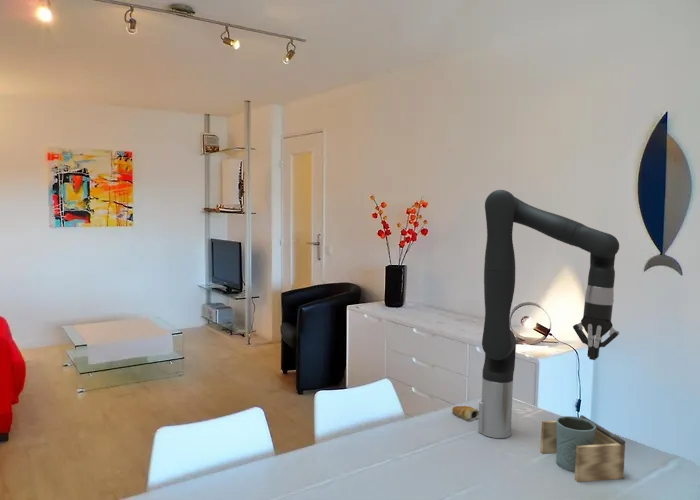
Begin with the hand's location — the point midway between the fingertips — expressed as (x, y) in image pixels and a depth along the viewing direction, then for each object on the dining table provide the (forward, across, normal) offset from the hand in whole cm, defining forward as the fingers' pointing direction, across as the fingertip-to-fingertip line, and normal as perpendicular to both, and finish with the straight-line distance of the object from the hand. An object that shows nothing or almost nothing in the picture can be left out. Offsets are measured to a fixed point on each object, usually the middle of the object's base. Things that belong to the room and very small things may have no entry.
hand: (592, 359), depth 167 cm
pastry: (+28, -37, -1) cm, 47 cm away
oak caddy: (+26, +2, -16) cm, 30 cm away
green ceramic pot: (+26, +2, -17) cm, 31 cm away
